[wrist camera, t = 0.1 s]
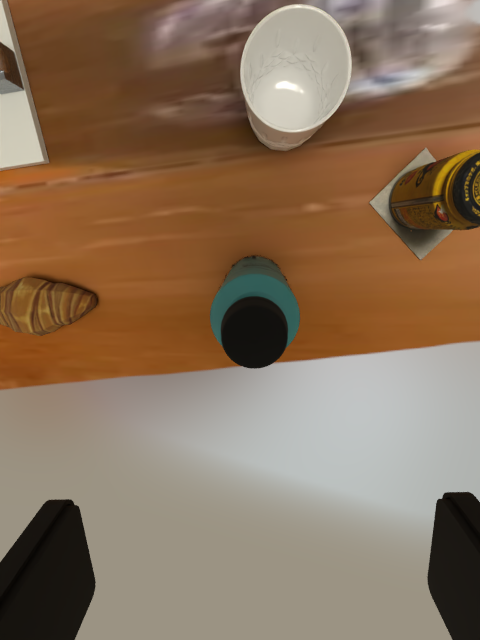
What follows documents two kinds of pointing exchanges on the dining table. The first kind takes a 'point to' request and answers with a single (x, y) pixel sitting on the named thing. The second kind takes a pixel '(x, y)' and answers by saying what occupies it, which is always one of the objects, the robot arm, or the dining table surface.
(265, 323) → the beverage bottle
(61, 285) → the croissant
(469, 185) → the condiment
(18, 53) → the board
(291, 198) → the dining table surface
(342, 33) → the white cup
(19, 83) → the shaft
